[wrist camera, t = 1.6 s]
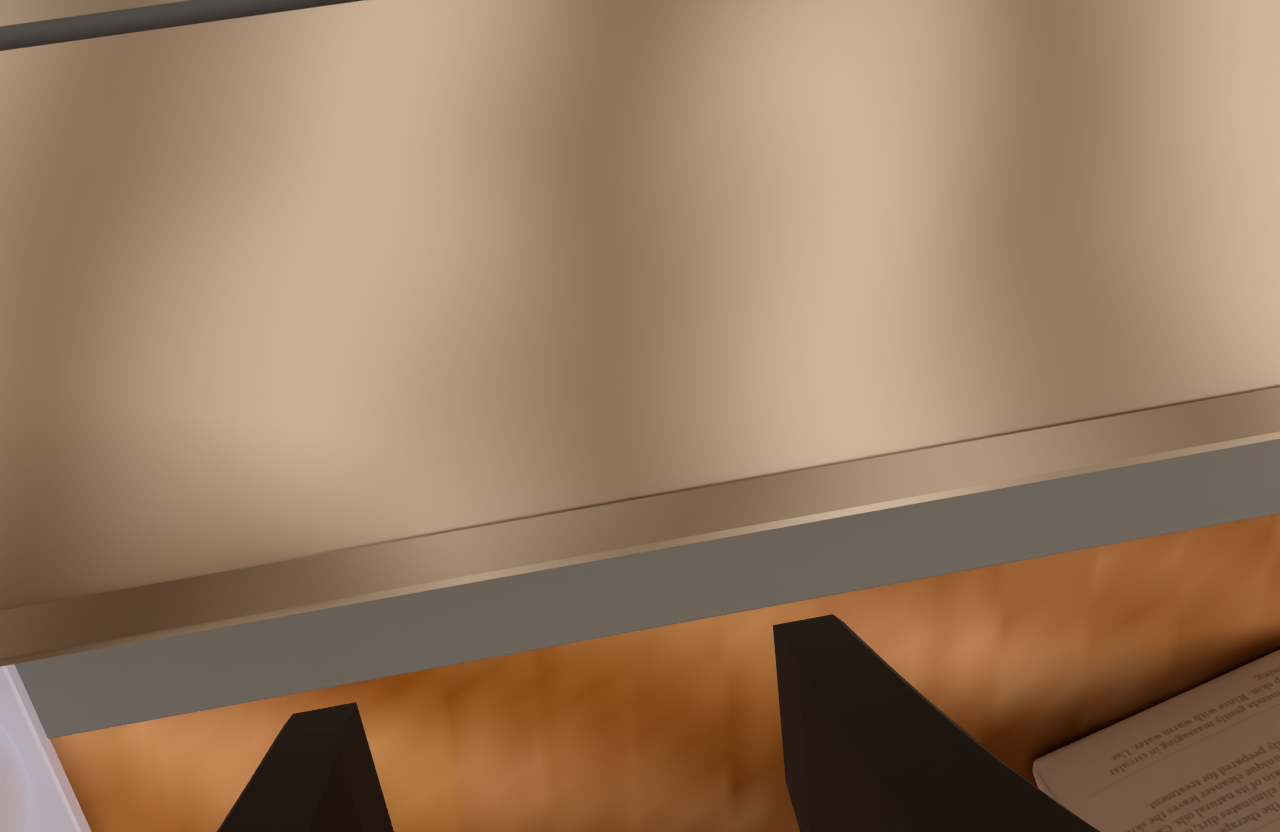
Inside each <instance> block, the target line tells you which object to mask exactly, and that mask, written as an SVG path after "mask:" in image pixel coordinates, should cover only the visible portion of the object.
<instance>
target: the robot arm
mask: <svg viewBox="0 0 1280 832" xmlns="http://www.w3.org/2000/svg"><path fill="white" fill-rule="evenodd" d="M773 632H774V644H775V656H776V668H777V680H778V692H779V704H780V716H781V728H782V740H783V752H784V764H785V776H786V784H787V787H788V790H789V794H790V797H791V801H792V804H793V808H794V811H795V815H796V818H797V821H798V825H799V828H800V832H1100V831H1099V830H1097V829H1096V828H1094V827H1093V826H1091V825H1090V824H1088V823H1087V822H1085V821H1084V820H1082V819H1081V818H1079V817H1078V816H1077V815H1075V814H1074V813H1072V812H1071V811H1069V810H1068V809H1066V808H1065V807H1064V806H1062V805H1061V804H1059V803H1058V802H1057V801H1055V800H1054V799H1052V798H1051V797H1050V796H1048V795H1047V794H1046V793H1044V792H1043V791H1042V790H1040V789H1039V788H1037V787H1036V786H1035V785H1033V784H1032V783H1031V782H1029V781H1028V780H1027V779H1025V778H1024V777H1022V776H1021V775H1020V774H1018V773H1017V772H1016V771H1014V770H1013V769H1012V768H1011V767H1009V766H1008V765H1007V764H1005V763H1004V762H1003V761H1002V760H1000V759H999V758H998V757H996V756H995V755H994V754H993V753H991V752H990V751H989V750H987V749H986V748H985V747H984V746H983V745H981V744H980V743H979V742H978V741H976V740H975V739H974V738H973V737H972V736H970V735H969V734H968V733H967V732H966V731H964V730H963V729H962V728H961V727H959V726H958V725H957V724H956V723H955V722H953V721H952V720H951V719H950V718H949V717H947V716H946V715H945V714H944V713H942V712H941V711H940V710H939V709H938V708H937V707H935V706H934V705H933V704H932V703H931V702H930V701H929V700H927V699H926V698H925V697H924V696H923V695H922V694H920V693H919V692H918V691H917V690H916V689H915V688H914V687H913V686H912V685H910V684H909V683H908V682H907V681H906V680H905V679H904V678H903V677H901V676H900V675H899V674H898V673H897V672H896V671H895V670H894V669H893V668H892V667H890V666H889V665H888V664H887V663H886V662H885V661H884V660H883V659H882V658H881V657H880V656H879V655H878V654H876V653H875V652H874V651H873V650H872V649H871V648H870V647H869V646H868V645H867V644H866V643H865V642H864V641H863V640H862V639H861V638H860V637H859V636H858V635H856V634H855V633H854V632H853V631H852V630H851V629H850V628H849V627H848V626H847V625H846V624H845V623H844V622H843V621H841V620H840V619H839V618H837V617H836V616H834V615H833V614H832V615H827V616H821V617H816V618H810V619H805V620H800V621H794V622H789V623H783V624H778V625H773ZM0 832H91V830H90V827H89V825H88V823H87V821H86V819H85V816H84V814H83V812H82V810H81V807H80V805H79V803H78V801H77V799H76V796H75V794H74V792H73V790H72V787H71V785H70V783H69V781H68V779H67V776H66V774H65V772H64V770H63V767H62V765H61V763H60V761H59V758H58V756H57V754H56V752H55V750H54V747H53V745H52V743H51V741H50V739H48V738H47V736H46V733H45V731H44V729H43V727H42V724H41V722H40V720H39V718H38V716H37V713H36V711H35V709H34V707H33V704H32V702H31V700H30V698H29V696H28V693H27V691H26V689H25V687H24V685H23V682H22V680H21V678H20V676H19V673H18V671H17V669H16V667H15V665H14V664H13V665H7V666H1V667H0ZM217 832H394V831H393V827H392V824H391V820H390V817H389V814H388V810H387V807H386V803H385V800H384V796H383V793H382V790H381V786H380V783H379V779H378V776H377V772H376V769H375V765H374V762H373V759H372V755H371V752H370V748H369V745H368V741H367V738H366V735H365V731H364V728H363V724H362V721H361V717H360V714H359V710H358V707H357V704H356V702H355V703H350V704H344V705H339V706H334V707H328V708H323V709H317V710H312V711H307V712H301V713H296V714H293V715H292V716H291V717H290V719H289V720H288V721H287V722H286V724H285V725H284V726H283V728H282V730H281V731H280V733H279V734H278V736H277V737H276V739H275V741H274V742H273V744H272V745H271V747H270V749H269V750H268V752H267V753H266V755H265V757H264V758H263V760H262V762H261V763H260V765H259V766H258V768H257V770H256V771H255V773H254V774H253V776H252V778H251V779H250V781H249V782H248V784H247V786H246V787H245V789H244V790H243V792H242V793H241V795H240V797H239V798H238V800H237V801H236V803H235V804H234V806H233V807H232V809H231V811H230V812H229V814H228V815H227V817H226V818H225V820H224V821H223V823H222V825H221V826H220V828H219V829H218V831H217Z"/></svg>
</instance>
